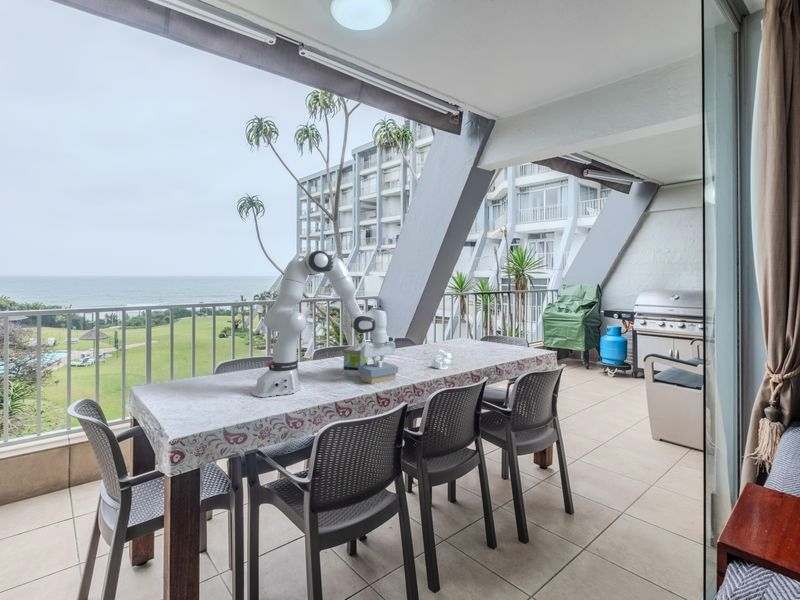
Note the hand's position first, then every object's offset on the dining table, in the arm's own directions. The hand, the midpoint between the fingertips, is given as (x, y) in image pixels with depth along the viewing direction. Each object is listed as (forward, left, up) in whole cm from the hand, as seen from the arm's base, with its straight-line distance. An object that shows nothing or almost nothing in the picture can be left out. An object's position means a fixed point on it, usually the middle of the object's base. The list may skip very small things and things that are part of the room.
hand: (378, 364), depth 211 cm
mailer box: (0, 0, -8) cm, 8 cm away
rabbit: (+47, 0, -9) cm, 48 cm away
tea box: (-2, +20, -9) cm, 22 cm away
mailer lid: (0, 0, -4) cm, 4 cm away
